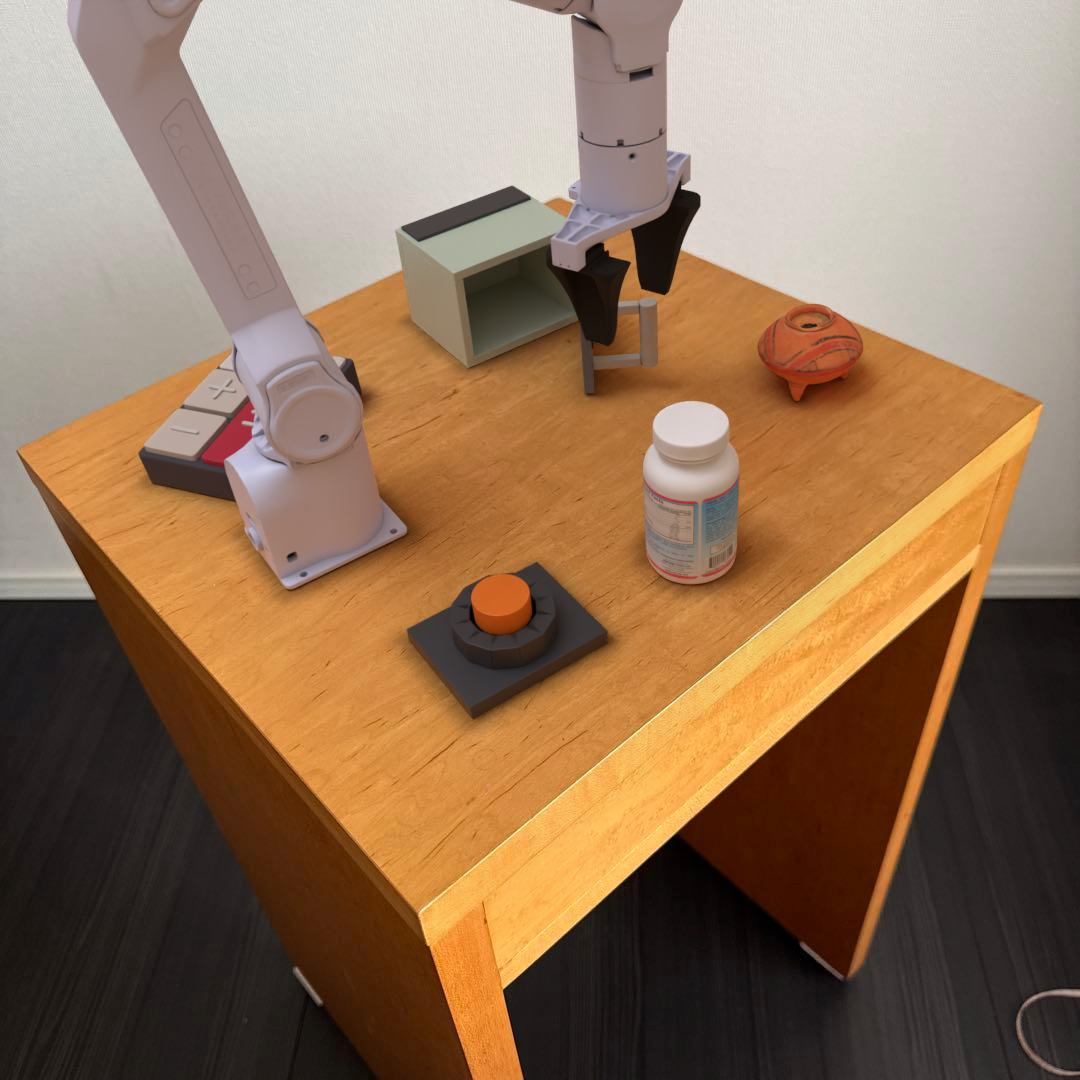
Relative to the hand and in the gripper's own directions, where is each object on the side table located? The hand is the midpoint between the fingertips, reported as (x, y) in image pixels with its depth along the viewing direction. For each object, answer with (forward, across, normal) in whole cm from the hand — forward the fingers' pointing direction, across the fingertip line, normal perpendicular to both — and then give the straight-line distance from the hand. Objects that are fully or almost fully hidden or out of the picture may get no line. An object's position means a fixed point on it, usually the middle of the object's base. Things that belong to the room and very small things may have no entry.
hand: (628, 314), depth 81 cm
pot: (+10, -12, +9) cm, 18 cm away
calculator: (+10, +16, -25) cm, 31 cm away
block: (+10, +24, +5) cm, 26 cm away
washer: (+10, -7, -19) cm, 22 cm away
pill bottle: (+10, +11, +11) cm, 19 cm away
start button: (+7, +24, +5) cm, 25 cm away
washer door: (+9, -7, -6) cm, 13 cm away
